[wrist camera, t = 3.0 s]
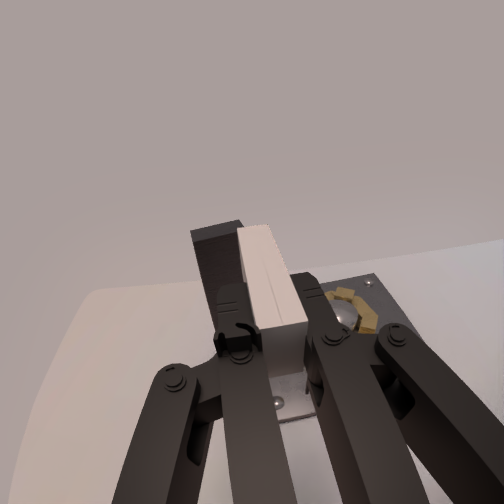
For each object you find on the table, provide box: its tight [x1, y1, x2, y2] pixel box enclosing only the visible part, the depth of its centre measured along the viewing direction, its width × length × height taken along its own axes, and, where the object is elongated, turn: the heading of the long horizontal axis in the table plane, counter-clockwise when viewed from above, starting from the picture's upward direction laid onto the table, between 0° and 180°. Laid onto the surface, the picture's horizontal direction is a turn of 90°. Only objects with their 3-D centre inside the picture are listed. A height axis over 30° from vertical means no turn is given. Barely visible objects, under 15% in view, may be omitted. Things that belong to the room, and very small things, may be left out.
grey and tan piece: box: [190, 220, 378, 334], centre depth 27 cm, size 19×10×17 cm, turn 107°
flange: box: [269, 273, 425, 423], centre depth 32 cm, size 22×22×4 cm
